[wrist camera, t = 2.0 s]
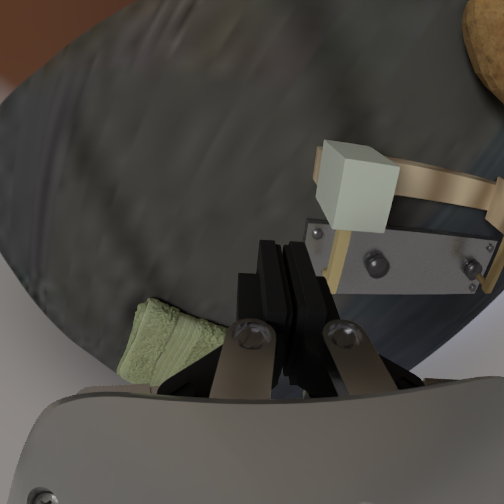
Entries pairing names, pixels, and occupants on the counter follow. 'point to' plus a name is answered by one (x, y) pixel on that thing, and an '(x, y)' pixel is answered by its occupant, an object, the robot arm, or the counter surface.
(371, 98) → the counter surface
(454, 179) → the rail
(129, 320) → the counter surface
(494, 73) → the potato
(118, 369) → the washcloth
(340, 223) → the block
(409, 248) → the bolt plate
